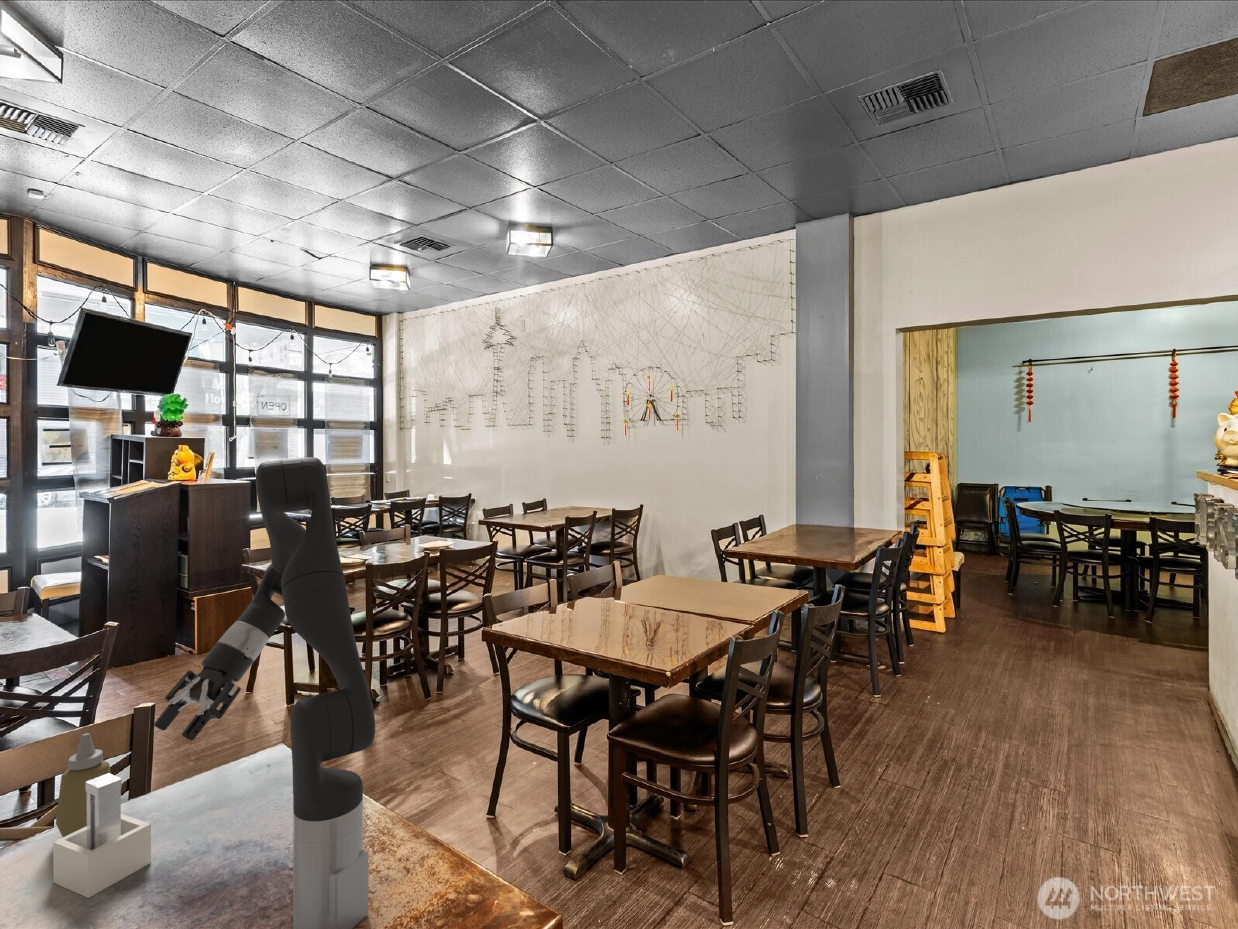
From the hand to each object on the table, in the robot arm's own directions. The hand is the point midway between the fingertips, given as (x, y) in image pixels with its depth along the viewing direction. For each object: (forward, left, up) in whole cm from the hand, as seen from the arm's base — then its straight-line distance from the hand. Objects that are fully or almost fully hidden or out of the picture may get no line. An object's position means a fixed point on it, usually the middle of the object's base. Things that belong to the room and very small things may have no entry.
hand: (172, 733), depth 111 cm
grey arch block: (+1, +10, -18) cm, 20 cm away
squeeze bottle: (+15, +5, -19) cm, 25 cm away
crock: (+1, +10, -19) cm, 21 cm away
